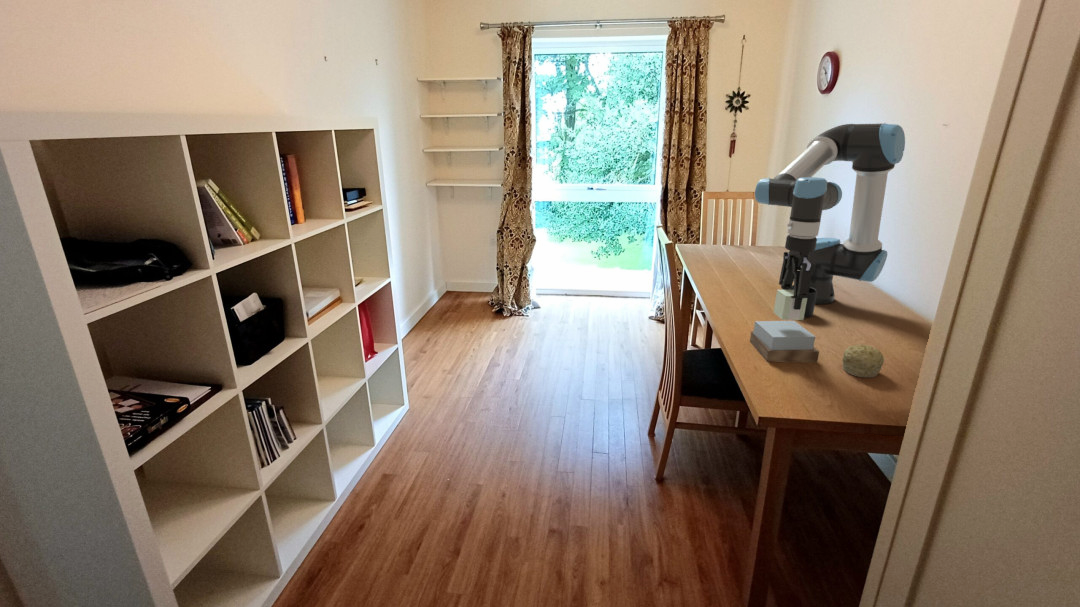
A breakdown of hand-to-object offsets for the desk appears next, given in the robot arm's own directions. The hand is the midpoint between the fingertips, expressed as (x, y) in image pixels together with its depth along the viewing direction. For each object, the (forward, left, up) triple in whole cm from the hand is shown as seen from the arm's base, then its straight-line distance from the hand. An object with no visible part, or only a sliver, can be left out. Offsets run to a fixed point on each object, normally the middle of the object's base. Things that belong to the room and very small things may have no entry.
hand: (788, 314), depth 147 cm
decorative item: (-16, +12, -12) cm, 23 cm away
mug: (-19, -34, -12) cm, 41 cm away
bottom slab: (0, 0, -12) cm, 12 cm away
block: (0, 0, 0) cm, 0 cm away
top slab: (+1, 0, -8) cm, 8 cm away
